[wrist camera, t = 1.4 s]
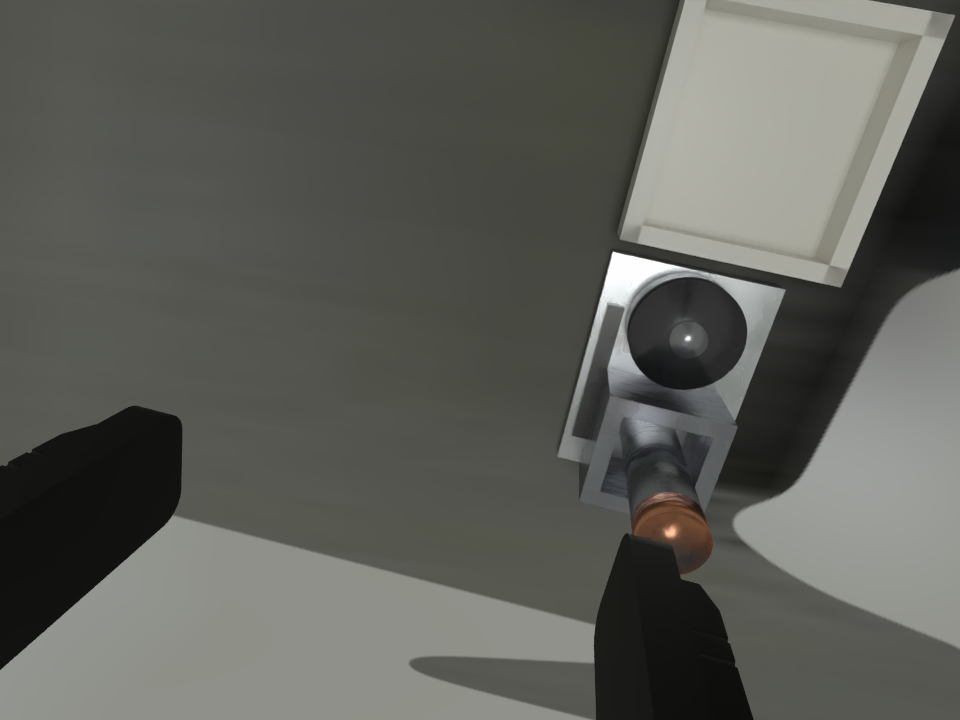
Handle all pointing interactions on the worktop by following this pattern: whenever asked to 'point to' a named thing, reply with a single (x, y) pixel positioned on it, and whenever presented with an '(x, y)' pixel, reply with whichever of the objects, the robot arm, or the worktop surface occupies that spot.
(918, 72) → the tray
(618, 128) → the worktop surface
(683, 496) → the lock pin
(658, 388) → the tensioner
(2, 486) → the robot arm
